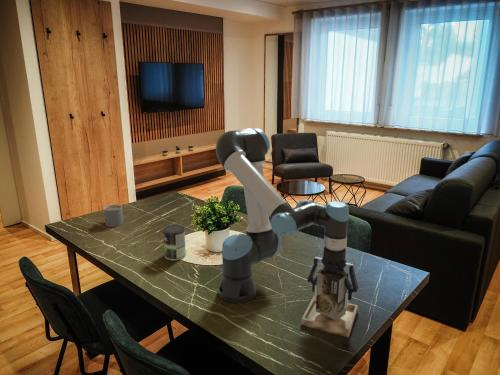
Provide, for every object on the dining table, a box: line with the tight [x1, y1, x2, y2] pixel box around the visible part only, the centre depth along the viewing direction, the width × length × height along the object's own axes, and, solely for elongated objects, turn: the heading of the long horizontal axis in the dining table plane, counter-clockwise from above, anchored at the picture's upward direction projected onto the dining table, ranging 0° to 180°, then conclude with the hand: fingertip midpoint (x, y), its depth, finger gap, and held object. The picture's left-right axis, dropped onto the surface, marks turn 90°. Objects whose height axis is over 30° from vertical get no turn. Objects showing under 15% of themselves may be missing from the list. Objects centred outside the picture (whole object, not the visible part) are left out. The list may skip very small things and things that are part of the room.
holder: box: [300, 294, 359, 339], centre depth 141 cm, size 17×17×2 cm
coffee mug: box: [103, 204, 124, 228], centre depth 228 cm, size 13×10×10 cm
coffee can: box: [162, 224, 187, 261], centre depth 187 cm, size 10×10×14 cm
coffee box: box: [316, 268, 349, 321], centre depth 138 cm, size 9×6×16 cm
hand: (331, 303), depth 140 cm, fingers closed on coffee box, 10 cm apart
